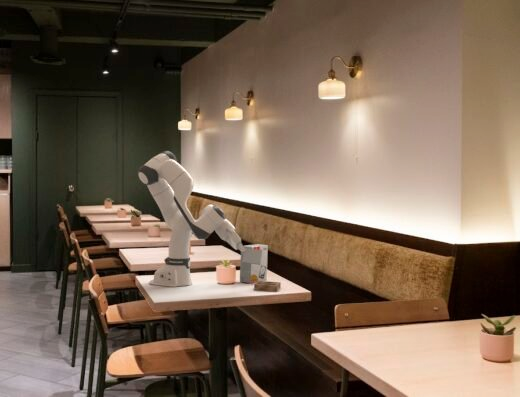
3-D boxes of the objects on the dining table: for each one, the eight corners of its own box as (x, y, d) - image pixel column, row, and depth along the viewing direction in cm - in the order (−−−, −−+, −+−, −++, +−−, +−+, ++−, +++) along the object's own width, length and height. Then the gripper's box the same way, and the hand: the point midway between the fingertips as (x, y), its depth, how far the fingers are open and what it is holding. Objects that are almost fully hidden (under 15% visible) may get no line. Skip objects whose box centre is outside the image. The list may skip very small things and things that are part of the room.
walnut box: (254, 289, 330) (254, 284, 330) (258, 286, 340) (258, 280, 340) (277, 291, 328) (277, 285, 327) (280, 287, 337) (280, 282, 337)
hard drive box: (250, 283, 347) (251, 247, 346) (239, 282, 352) (240, 245, 351) (267, 280, 360) (268, 244, 359) (256, 278, 364) (257, 243, 363)
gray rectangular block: (261, 251, 323) (244, 248, 323) (262, 250, 320) (244, 247, 320) (260, 264, 321) (242, 262, 321) (260, 264, 318) (242, 261, 318)
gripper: (231, 223, 314) (249, 243, 312) (231, 231, 334) (249, 251, 331) (221, 231, 313) (240, 252, 311) (222, 239, 333) (240, 259, 330)
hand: (244, 251), depth 321 cm, fingers closed on gray rectangular block, 3 cm apart
